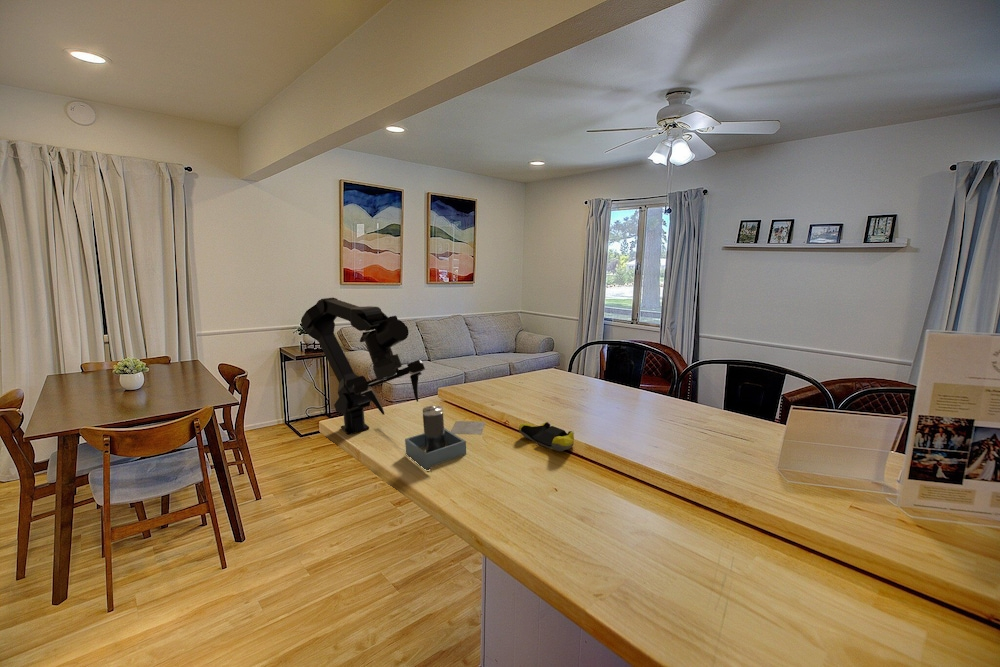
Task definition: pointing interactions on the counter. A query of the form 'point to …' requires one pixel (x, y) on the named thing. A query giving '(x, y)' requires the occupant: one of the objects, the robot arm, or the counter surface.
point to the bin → (437, 456)
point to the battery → (433, 428)
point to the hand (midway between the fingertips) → (400, 408)
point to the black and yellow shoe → (548, 436)
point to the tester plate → (468, 427)
